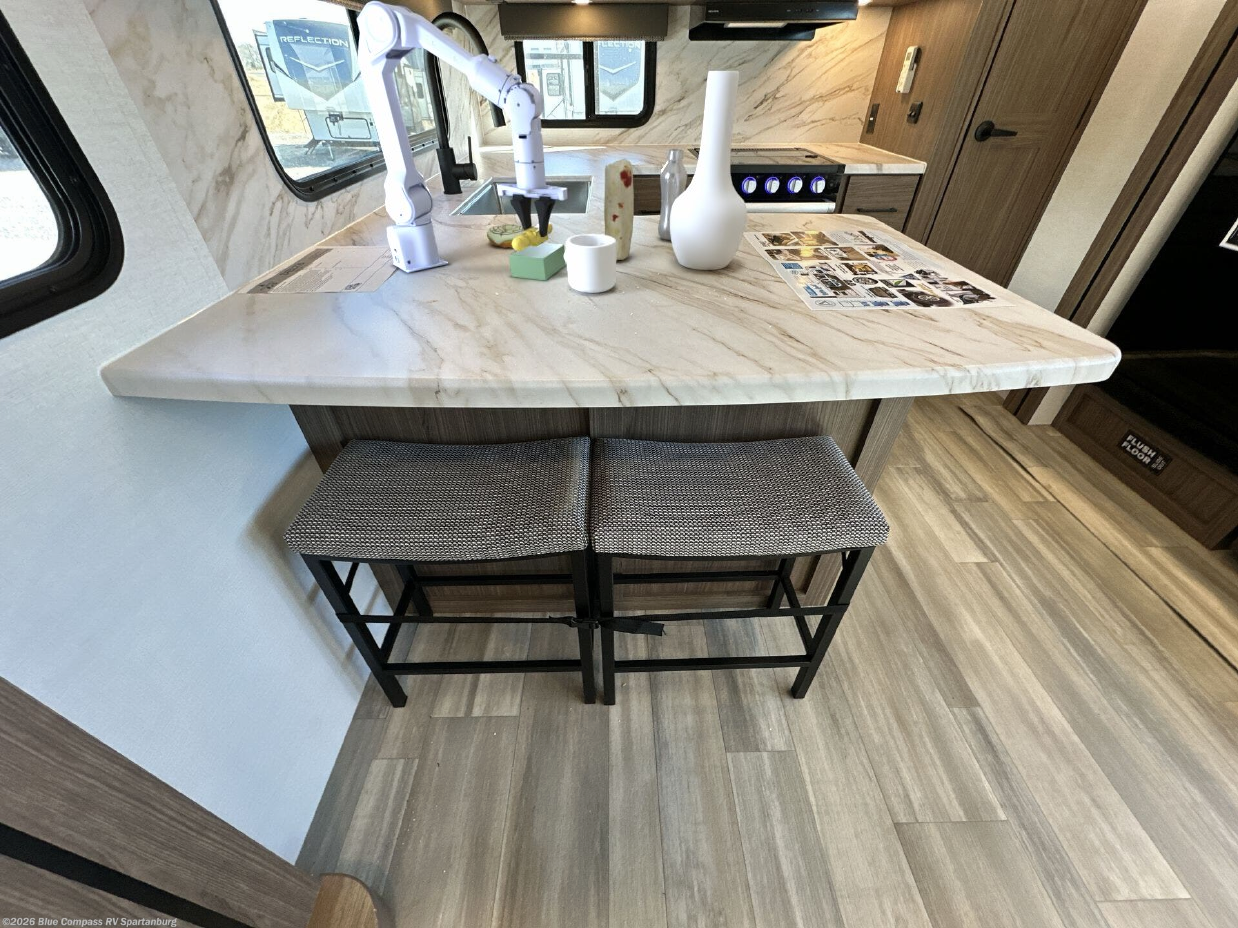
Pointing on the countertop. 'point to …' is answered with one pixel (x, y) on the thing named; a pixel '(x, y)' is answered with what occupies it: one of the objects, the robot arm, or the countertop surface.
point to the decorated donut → (504, 234)
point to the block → (537, 261)
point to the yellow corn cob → (530, 238)
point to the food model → (619, 205)
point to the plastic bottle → (671, 188)
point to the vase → (711, 187)
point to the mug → (591, 262)
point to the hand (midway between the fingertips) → (536, 235)
